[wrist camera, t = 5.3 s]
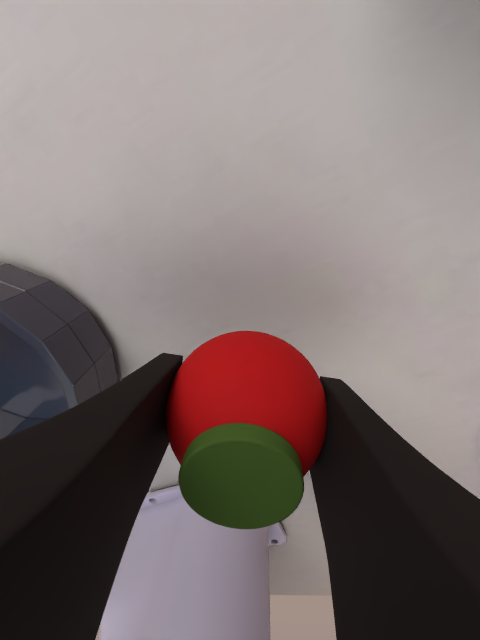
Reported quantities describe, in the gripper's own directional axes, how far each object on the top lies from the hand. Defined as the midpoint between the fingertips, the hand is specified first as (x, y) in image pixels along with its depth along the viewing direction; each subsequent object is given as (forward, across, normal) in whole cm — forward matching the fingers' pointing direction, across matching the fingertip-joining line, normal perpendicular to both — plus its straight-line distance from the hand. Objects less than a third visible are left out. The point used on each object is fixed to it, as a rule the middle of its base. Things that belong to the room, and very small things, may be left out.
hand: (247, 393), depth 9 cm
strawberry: (+1, 0, 0) cm, 1 cm away
